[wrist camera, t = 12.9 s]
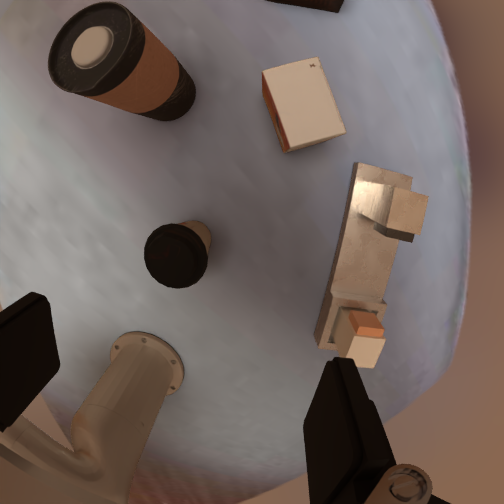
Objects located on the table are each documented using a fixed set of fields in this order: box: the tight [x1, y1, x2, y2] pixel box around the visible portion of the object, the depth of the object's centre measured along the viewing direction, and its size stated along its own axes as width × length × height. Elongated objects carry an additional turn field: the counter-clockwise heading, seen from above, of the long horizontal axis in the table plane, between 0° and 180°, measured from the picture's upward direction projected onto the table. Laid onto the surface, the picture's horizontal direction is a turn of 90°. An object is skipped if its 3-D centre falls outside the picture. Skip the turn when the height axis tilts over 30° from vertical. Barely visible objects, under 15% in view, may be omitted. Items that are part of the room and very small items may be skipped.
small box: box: [262, 57, 346, 153], centre depth 29 cm, size 8×6×10 cm
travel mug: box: [48, 2, 196, 121], centre depth 24 cm, size 8×8×20 cm
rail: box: [314, 162, 429, 351], centre depth 34 cm, size 24×8×10 cm, turn 171°
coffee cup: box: [144, 221, 211, 288], centre depth 34 cm, size 7×7×10 cm
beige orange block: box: [331, 306, 386, 368], centre depth 35 cm, size 5×4×8 cm
